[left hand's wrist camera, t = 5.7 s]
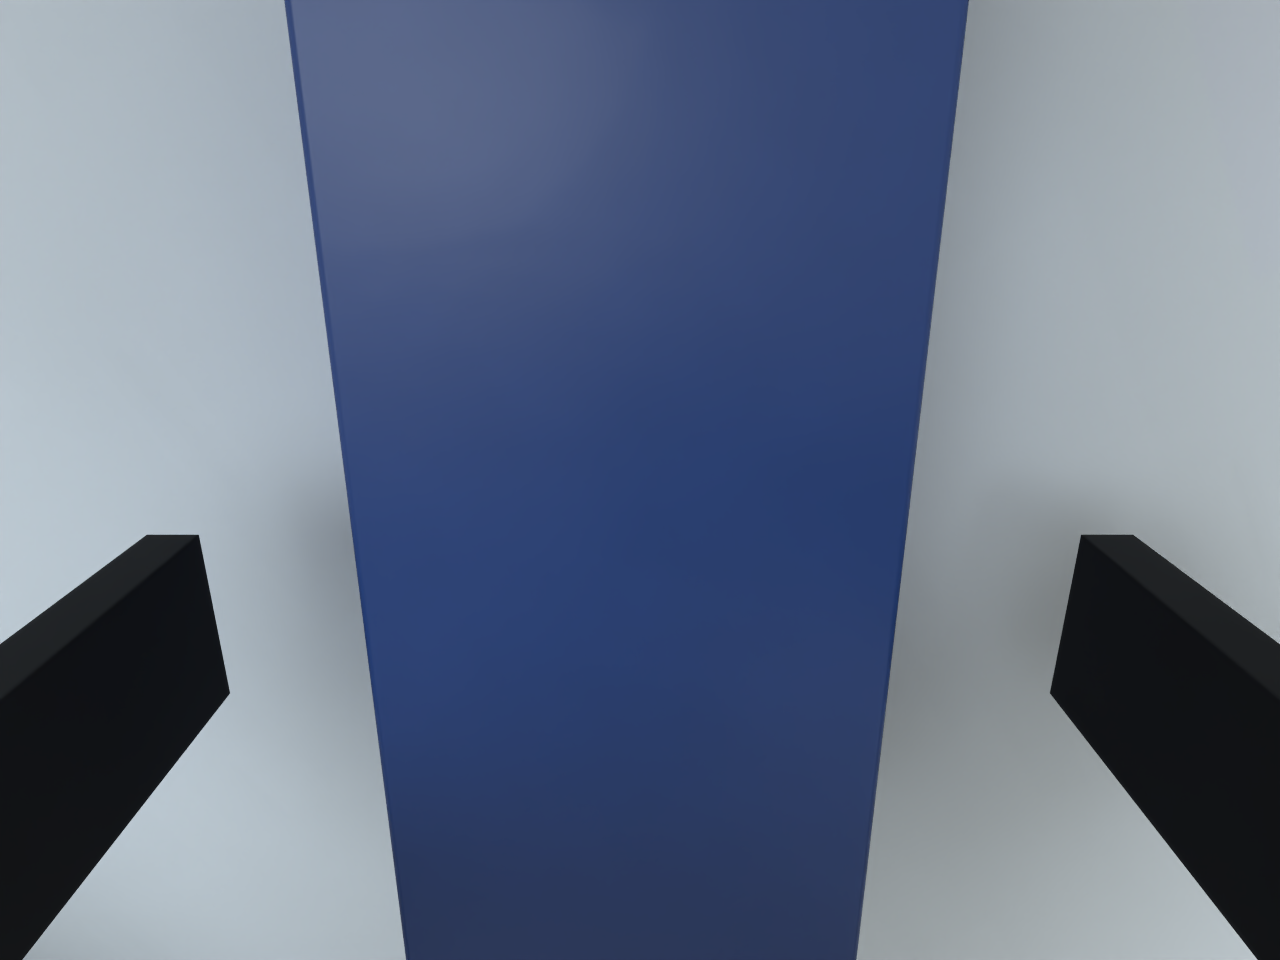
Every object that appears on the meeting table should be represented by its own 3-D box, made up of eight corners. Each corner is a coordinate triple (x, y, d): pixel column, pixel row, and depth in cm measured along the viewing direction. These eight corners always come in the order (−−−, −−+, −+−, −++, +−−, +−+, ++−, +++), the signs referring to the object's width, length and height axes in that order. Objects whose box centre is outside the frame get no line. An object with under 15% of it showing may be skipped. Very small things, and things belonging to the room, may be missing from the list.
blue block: (450, -250, 13) (161, -901, 5) (810, -249, 13) (1081, -897, 5) (510, 718, 18) (421, 1105, 11) (757, 717, 18) (843, 1103, 11)
